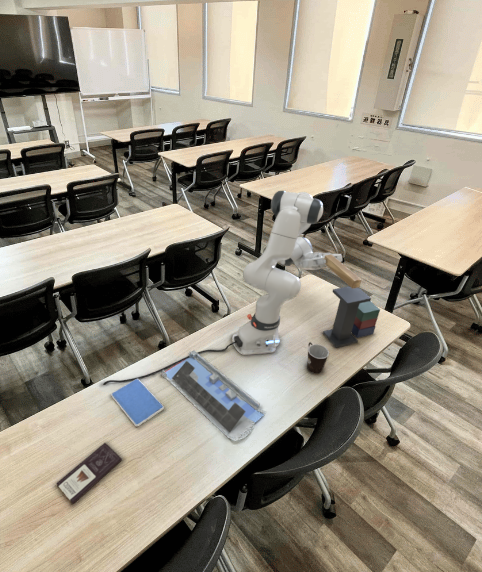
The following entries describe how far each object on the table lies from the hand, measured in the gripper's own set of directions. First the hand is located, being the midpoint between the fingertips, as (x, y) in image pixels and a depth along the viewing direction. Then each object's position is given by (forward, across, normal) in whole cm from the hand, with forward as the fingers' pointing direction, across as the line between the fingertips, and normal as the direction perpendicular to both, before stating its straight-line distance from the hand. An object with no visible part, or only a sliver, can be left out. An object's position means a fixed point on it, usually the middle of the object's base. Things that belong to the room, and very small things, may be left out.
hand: (330, 260), depth 168 cm
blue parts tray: (+12, -68, +44) cm, 82 cm away
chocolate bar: (+27, -115, +53) cm, 130 cm away
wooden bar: (+6, 0, +6) cm, 9 cm away
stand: (0, 0, +38) cm, 38 cm away
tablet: (+7, -97, +42) cm, 106 cm away
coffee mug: (+10, -21, +44) cm, 50 cm away
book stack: (-4, +12, +35) cm, 37 cm away
